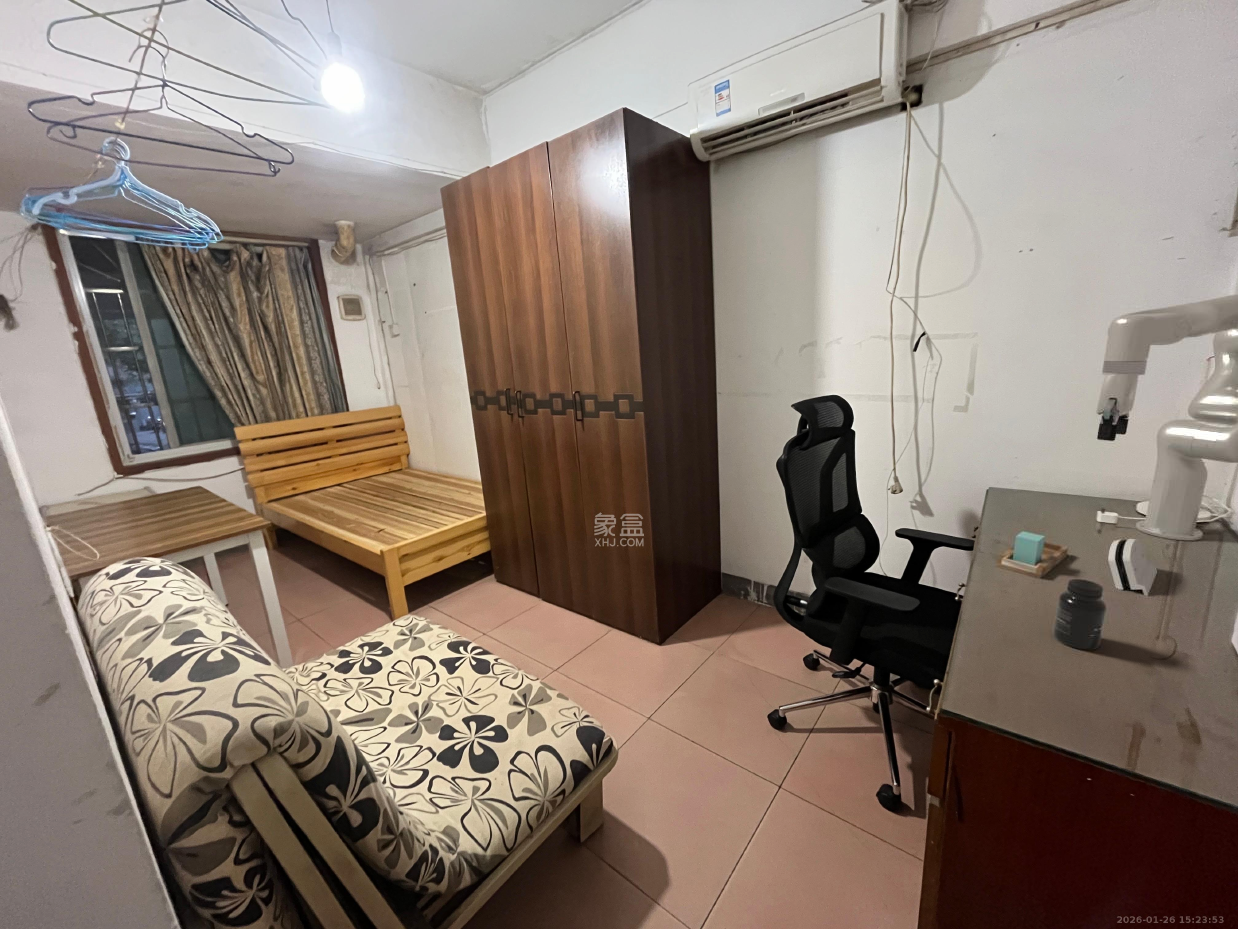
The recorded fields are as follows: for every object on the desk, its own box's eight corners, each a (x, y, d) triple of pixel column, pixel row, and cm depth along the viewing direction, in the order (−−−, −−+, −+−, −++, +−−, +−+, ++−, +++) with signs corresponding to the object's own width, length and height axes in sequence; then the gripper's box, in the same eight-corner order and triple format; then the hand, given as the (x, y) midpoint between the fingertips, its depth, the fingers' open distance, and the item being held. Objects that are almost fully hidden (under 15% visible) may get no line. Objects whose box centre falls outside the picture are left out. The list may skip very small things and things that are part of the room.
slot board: (1024, 545, 138) (1025, 537, 137) (1066, 555, 130) (1068, 547, 130) (996, 566, 127) (997, 557, 127) (1040, 578, 120) (1041, 569, 119)
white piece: (1147, 596, 110) (1133, 552, 110) (1118, 595, 114) (1104, 553, 114) (1157, 571, 120) (1144, 531, 120) (1129, 571, 124) (1117, 532, 124)
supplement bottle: (1103, 655, 92) (1115, 596, 90) (1055, 645, 96) (1065, 588, 93) (1094, 635, 98) (1105, 580, 95) (1049, 627, 102) (1058, 573, 99)
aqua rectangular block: (1019, 556, 129) (1022, 531, 128) (1040, 562, 126) (1044, 536, 124) (1012, 561, 127) (1016, 536, 125) (1034, 567, 123) (1038, 541, 122)
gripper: (1113, 365, 130) (1101, 429, 134) (1092, 371, 120) (1081, 440, 125) (1154, 365, 124) (1141, 433, 128) (1136, 371, 114) (1122, 444, 119)
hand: (1111, 436), depth 126 cm, fingers open, 9 cm apart
